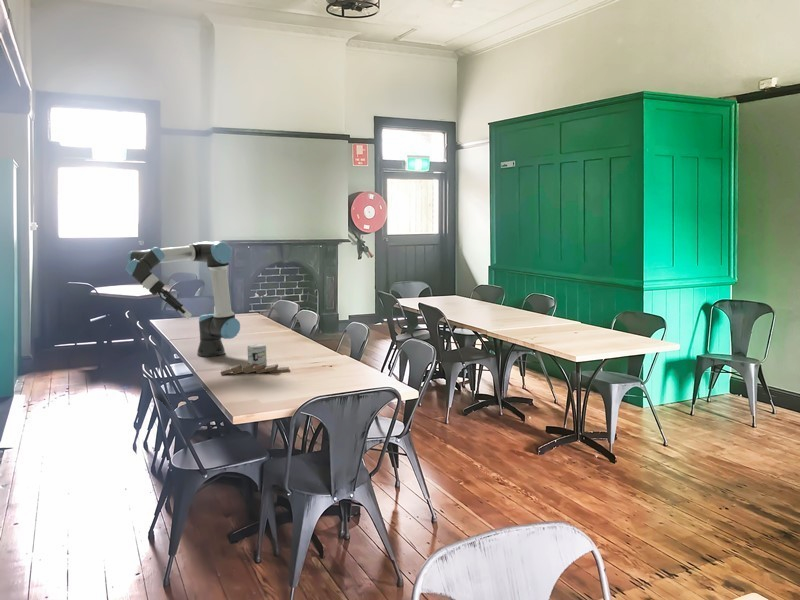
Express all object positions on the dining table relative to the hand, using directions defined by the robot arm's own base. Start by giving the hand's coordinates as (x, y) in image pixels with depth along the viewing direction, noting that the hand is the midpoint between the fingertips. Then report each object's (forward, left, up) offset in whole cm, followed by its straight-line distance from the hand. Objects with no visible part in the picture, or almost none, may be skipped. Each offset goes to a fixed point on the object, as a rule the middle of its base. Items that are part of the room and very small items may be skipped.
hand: (190, 317), depth 343 cm
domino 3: (+8, +33, -27) cm, 43 cm away
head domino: (+8, +15, -27) cm, 32 cm away
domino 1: (+8, +21, -27) cm, 35 cm away
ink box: (-3, +32, -28) cm, 43 cm away
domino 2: (+8, +27, -27) cm, 39 cm away
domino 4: (+8, +38, -28) cm, 48 cm away
